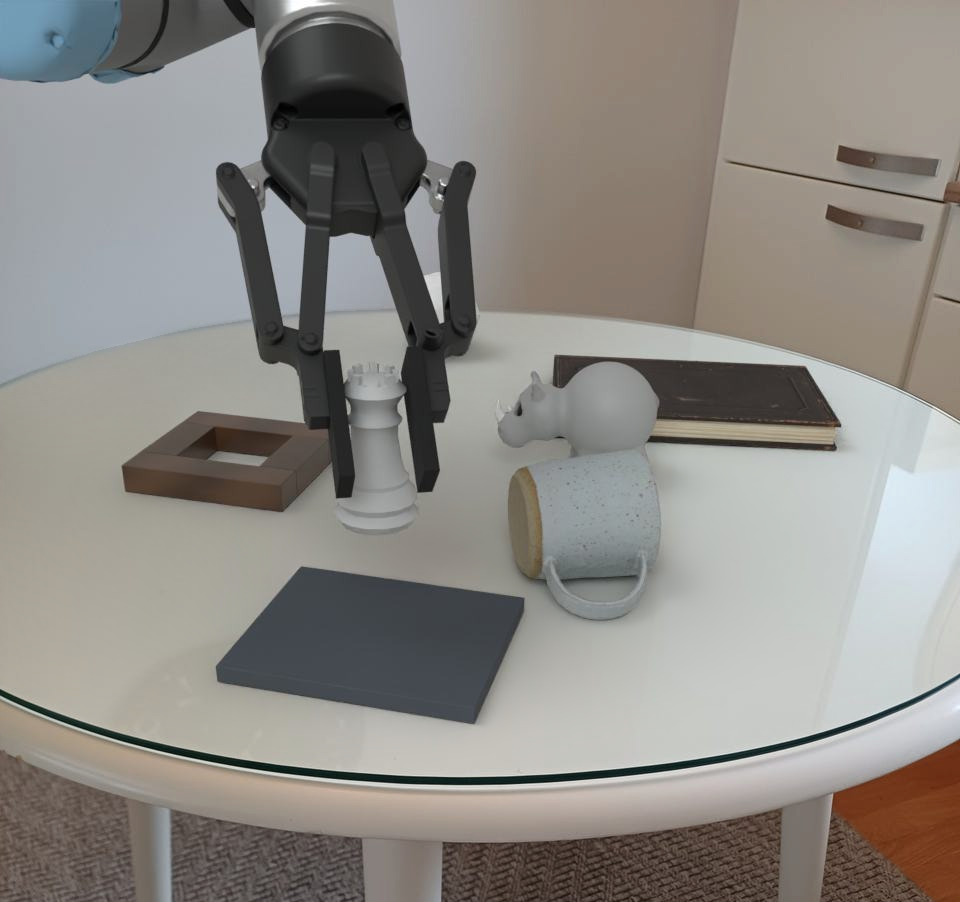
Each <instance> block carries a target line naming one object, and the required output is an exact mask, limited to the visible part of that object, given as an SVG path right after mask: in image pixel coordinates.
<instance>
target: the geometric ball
mask: <svg viewBox="0 0 960 902" xmlns="http://www.w3.org/2000/svg"><path fill="white" fill-rule="evenodd" d="M423 276H424V279H425V282H426V285H427V288H428V291H429V294H430V297H431V300H432V302H433V305H434V308H435V311H436V314H437V317H438V320H439V323H440V324H441V323H443V322H444V316H443V302H442V288H441V274H440V270H439V271H436V272H432V273H428V274H423ZM475 306H476V319H477V324H476V328H477V326H478V323H479V321H480V317H481V313H480V311H479V308H478V304H477V301H476V300H475ZM476 328H475V330H476Z"/></svg>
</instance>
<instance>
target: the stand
mask: <svg viewBox="0 0 960 902" xmlns="http://www.w3.org/2000/svg"><path fill="white" fill-rule="evenodd" d="M218 451H221V452H228V453H236V454H245V455H252V456H260V457H261V456H262V457H267V459H265V460H264V461H263V462H262V463H261V464H260V465H252V464H245V463H244V464H242V463H235V462H228V461H227V462H226V461H221V460H220V461H219V460H212V459H209V458H210V457H211V456H212V455H213V454H215V453H216V452H218ZM331 463H332V461H331V453H330V445H329V436H328V429H318V430H309V429H308V427H307V425H306V423H305V422H299V421H291V420H290V421H289V420H282V419H281V420H280V419H272V418H265V417H254V416H246V415H236V414H228V413H220V412H212V411H203V410H198V411H196V412H194V413H193V414H191V415H190V416H188V418H186V419H184V420H183V421H182V422H180V423H179V424H177V425H176V426H174V427H172V429H170V430H168V431H167V432H166V433H164V434H163V435H162V436H161V437H159V438H157V439H156V440H154V441H153V442H152V443H150V444H149V445H147V447H145V448H144V449H142V450H140V451H139V452H138V453H137V454H135V455H134V456H132V457H131V458H129V459H128V460H127V461H125V462H124V463H123V464H121V471H122V477H123V485H124V491H125V492H128V493H135V494H143V495H153V496H159V497H168V498H175V499H182V500H188V501H189V500H191V501H198V502H206V503H212V504H213V503H214V504H220V505H229V506H235V507H242V508H250V509H259V510H264V511H265V510H266V511H273V512H281V513H282V512H284V511H285V510H286V509H287V508H288V507H289V506H290V505H291V503H293V501H295V499H296V498H298V497H299V495H301V494H302V492H304V491H305V490H306V488H307V487H308V486H309V485H310V484H312V482H313V481H314V480H315V479H316V478H317V477H318V476H319V475H320V474H321V473H322V472H323V471H325V469H326V468H327V467H328V466H329V465H330V464H331Z"/></svg>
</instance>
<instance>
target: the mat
mask: <svg viewBox="0 0 960 902" xmlns="http://www.w3.org/2000/svg"><path fill="white" fill-rule="evenodd" d="M524 613H525V597H522V596H516V595H515V596H514V595H509V594H503V593H502V594H501V593H495V592H487V591H481V590H473V589H467V588H460V587H459V588H458V587H451V586H445V585H436V584H431V583H424V582H418V581H417V582H416V581H408V580H401V579H395V578H394V579H393V578H387V577H381V576H374V575H366V574H360V573H352V572H345V571H340V570H339V571H338V570H330V569H323V568H317V567H310V566H303V565H301V566H300V567H299V568H298V569H297V570H296V571H295V573H294V574H293V575H292V576H291V577H290V579H289V580H288V581H287V582H286V583H285V584H284V586H282V588H281V589H280V590H279V592H278V593H277V594H276V595H275V596H274V597H273V598H272V599H271V601H270V602H269V603H268V604H267V605H266V606H265V608H264V609H263V610H262V611H261V612H260V614H258V616H257V617H256V618H255V619H254V621H252V623H251V624H250V625H249V626H248V627H247V629H246V630H245V631H244V632H243V634H242V635H240V637H239V638H238V639H237V640H236V642H234V644H233V645H232V646H231V648H230V649H228V651H227V652H226V653H225V655H224V656H223V657H222V658H220V660H219V661H218V662H217V664H216V665H215V673H216V681H217V682H218V683H224V684H230V685H235V686H236V685H237V686H242V687H249V688H253V689H259V690H260V689H261V690H265V691H266V690H267V691H272V692H280V693H286V694H292V695H295V696H297V695H298V696H302V697H303V696H304V697H309V698H316V699H321V700H327V701H334V702H340V703H346V704H352V705H359V706H364V707H369V708H376V709H382V710H387V711H393V712H400V713H406V714H412V715H419V716H425V717H431V718H437V719H442V720H448V721H454V722H460V723H467V724H475V723H476V721H477V718H478V717H479V714H480V712H481V709H482V708H483V705H484V703H485V701H486V698H487V696H488V693H489V692H490V689H491V687H492V685H493V682H494V680H495V678H496V676H497V673H498V671H499V669H500V667H501V664H502V662H503V660H504V657H505V655H506V653H507V650H508V648H509V647H510V644H511V641H512V640H513V637H514V635H515V632H516V630H517V628H518V626H519V624H520V621H521V619H522V617H523V614H524Z"/></svg>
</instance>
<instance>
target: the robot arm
mask: <svg viewBox="0 0 960 902" xmlns="http://www.w3.org/2000/svg"><path fill="white" fill-rule="evenodd" d="M251 29H255V38H256V46H257V48H256V49H257V55H258V64H259V70H260V72H261V74H260V82H261V92H262V100H263V101H262V102H263V109H264V118H265V126H266V135H267V140H266V142H265V144H264V146H263V148H262V150H261V155H260V160H258V161H256V162H253V163H250V164H249V165H246V166H243V167H241V168H240V167H239V166H238V165H237V164H235V163H234V162H231V161H224V162H222V163H220V164H218V166H217V167H216V168H215V179H216V192H217V204H218V207H219V210H221V212H222V214H223V215H224V217H225V218H226V220H227V222H228V223H229V224H230V225H229V226H230V227H231V228H232V230H233V231H234V233H235V237H236V240H237V241H236V243H237V246H238V251H239V257H240V262H241V268H242V272H243V278H244V284H245V288H246V294H247V299H248V304H249V309H250V314H251V315H250V316H251V321H252V325H253V331H254V335H255V340H256V341H255V342H256V347H257V351H258V356H259V358H260V360H261V361H262V362H264V363H265V364H267V365H275V364H278V363H282V364H285V365H288V366H290V367H292V368H293V369H294V370H295V371H296V375H297V376H298V381H299V389H300V399H301V407H302V415H303V421H304V422H303V423H306V425H307V427H308V429H309V430H318V429H328V436H329V445H330V453H331V468H332V478H333V485H334V486H333V487H334V493H335V494H336V499H338V498H351V497H352V492H353V486H354V481H355V469H354V461H353V453H352V445H351V428H350V425H349V421H348V415H349V413H348V407H347V399H346V397H345V390H344V383H345V381H344V375H343V367H342V359H341V352H340V351H341V349H324V335H325V334H324V332H325V319H326V318H325V317H326V305H327V303H326V302H327V301H326V299H327V285H328V283H327V282H328V272H329V271H328V270H329V255H330V238H337V237H341V236H344V235H349V234H353V235H354V234H355V235H360V236H364V237H369V238H370V241H371V244H372V248H373V251H374V253H375V255H376V257H378V258H379V260H380V264H381V267H382V270H383V273H384V276H385V279H386V282H387V285H388V289H389V290H390V294H391V297H392V300H393V303H394V306H395V310H396V313H397V315H398V318H399V322H400V324H401V325H400V326H401V327H402V331H403V333H404V336H405V337H404V338H405V340H406V342H407V346H406V349H405V353H404V358H403V361H402V366H401V371H400V380H401V382H402V383H403V384H404V385H405V387H406V393H405V394H404V396H403V400H404V407H405V415H406V423H407V428H408V435H409V436H408V437H409V442H410V443H409V444H410V450H411V457H412V464H413V473H414V480H415V487H416V490H417V494H421V493H422V494H423V493H424V494H425V493H433V491H434V488H435V486H436V483H437V480H438V478H439V475H440V472H441V468H440V466H441V465H440V459H439V453H438V447H437V439H436V433H435V425H434V424H444V423H445V421H446V419H447V418H446V417H447V415H448V411H449V408H450V405H451V401H452V400H451V394H450V387H449V379H448V373H447V367H446V359H448V358H450V357H452V356H454V357H462V356H464V355H466V354H467V353H468V351H469V350H470V349H469V348H470V346H471V342H472V339H473V338H474V333H475V332H476V329H475V328H477V326H476V324H477V325H478V323H477V319H476V306H475V301H476V297H475V283H474V270H473V258H472V257H473V256H472V244H471V232H470V219H469V207H468V206H469V203H470V198H471V195H472V191H473V187H474V183H475V180H476V176H477V169H476V167H475V165H474V164H473V163H472V162H469V161H467V160H460V161H458V162H456V163H455V164H454V166H453V167H452V168H451V167H449V166H446V165H444V164H440V163H438V162H435V161H433V160H430V159H428V155H427V152H426V149H425V148H424V146H423V145H422V144H421V143H420V141H419V140H418V138H417V136H416V135H415V132H414V127H413V120H412V115H411V107H410V101H409V100H410V99H409V94H408V89H407V87H408V86H407V80H406V74H405V68H404V64H403V61H402V48H401V41H400V34H399V29H398V22H397V16H396V9H395V3H394V0H0V79H2V80H6V81H13V82H31V83H40V84H47V83H63V82H69V81H73V80H78V79H81V78H82V77H84V75H89V76H90V77H91V78H92V79H93V80H94V81H96V82H98V83H101V84H104V85H105V84H106V85H109V84H110V85H111V84H118V83H120V82H124V81H126V80H129V79H133V78H140V77H142V76H145V75H148V74H152V75H153V74H156V73H158V72H160V71H162V70H163V69H164V68H165V66H167V65H170V64H171V63H174V62H177V61H178V60H181V59H184V58H185V57H188V56H190V55H193V54H195V53H198V52H201V51H202V50H204V49H207V48H210V47H212V46H214V45H216V44H219V43H221V42H223V41H225V40H228V39H230V38H232V37H234V36H237V35H240V34H242V33H244V32H246V31H248V30H251ZM420 187H422V188H423V189H425V191H426V192H427V194H428V204H429V205H430V208H432V212H433V213H434V214H436V215H439V219H438V223H437V245H438V259H439V271H440V274H441V288H442V302H443V316H444V322H443V323H441V324H440V323H439V320H438V317H437V314H436V311H435V308H434V305H433V302H432V300H431V297H430V294H429V291H428V288H427V285H426V282H425V279H424V273H423V270H422V267H421V263H420V260H419V258H418V255H417V252H416V249H415V246H414V244H413V240H412V237H411V235H410V232H409V228H408V225H407V217H406V215H407V214H406V211H405V209H406V208H407V207H408V205H409V203H410V202H411V200H412V199H413V197H414V196H415V194H416V193H417V191H418V190H419V188H420ZM268 189H270V190H271V191H272V192H273V193H274V194H275V195H276V196H277V197H278V198H279V199H280V200H281V202H283V204H284V205H285V206H286V207H287V208H288V209H289V210H290V211H291V212H292V213H293V214H294V215H295V216H296V217H297V218H298V219H299V220H300V221H301V222H302V224H304V225H305V231H304V245H303V257H302V260H303V261H302V274H301V287H300V302H299V315H298V329H297V328H293V327H290V326H286V325H284V320H283V316H282V311H281V306H280V300H279V295H278V291H277V286H276V285H277V284H276V281H275V280H276V279H275V275H274V271H273V265H272V260H271V255H270V251H269V245H268V240H267V234H266V230H265V223H264V219H263V215H262V212H264V210H265V208H266V191H267V190H268ZM335 494H334V495H335Z"/></svg>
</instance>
